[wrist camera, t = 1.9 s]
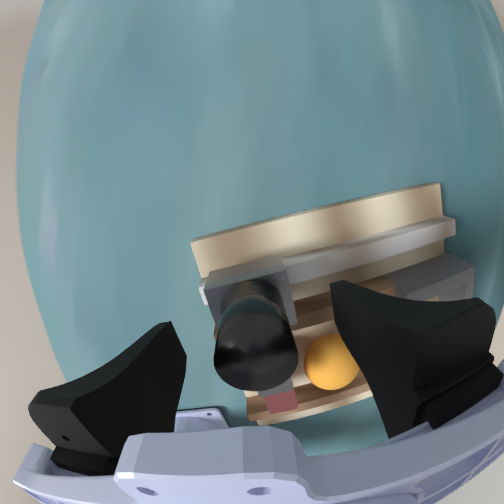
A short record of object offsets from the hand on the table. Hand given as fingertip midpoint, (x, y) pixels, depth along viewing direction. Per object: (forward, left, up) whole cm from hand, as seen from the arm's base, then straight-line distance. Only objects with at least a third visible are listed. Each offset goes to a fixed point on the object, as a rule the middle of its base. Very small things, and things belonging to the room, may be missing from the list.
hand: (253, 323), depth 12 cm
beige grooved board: (+6, -6, -7) cm, 11 cm away
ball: (+4, -7, -4) cm, 9 cm away
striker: (0, -4, -6) cm, 7 cm away
